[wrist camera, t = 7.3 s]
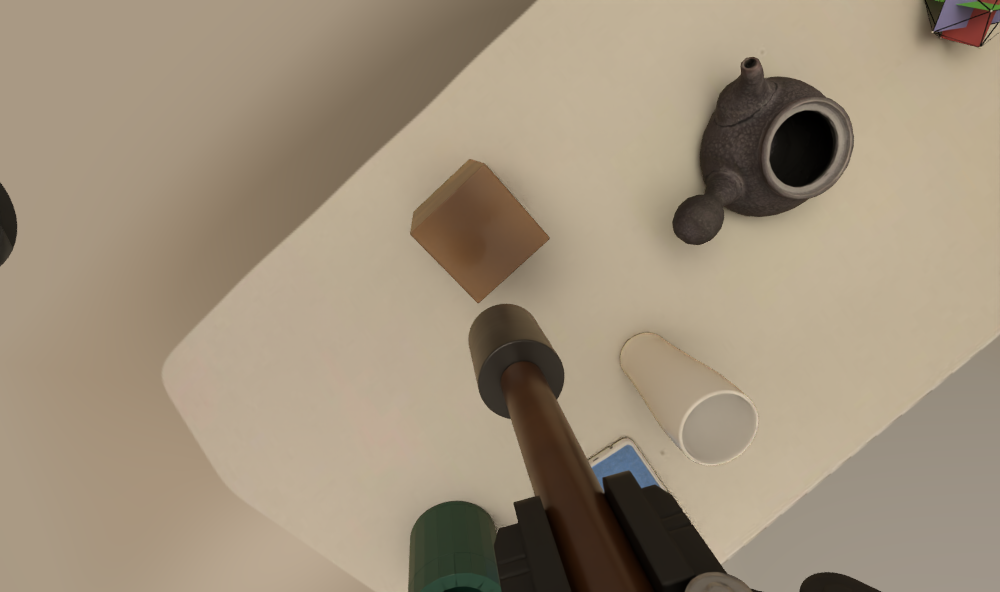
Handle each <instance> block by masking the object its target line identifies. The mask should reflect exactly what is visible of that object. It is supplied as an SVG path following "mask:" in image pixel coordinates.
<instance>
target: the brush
mask: <svg viewBox="0 0 1000 592" xmlns="http://www.w3.org/2000/svg"><path fill="white" fill-rule="evenodd" d="M468 340H469V348H470V352H471V357H472V361H473V366H474V370H475V375H476V380H477V384H478V389H479V393H480V395H481V398H482V400H483V401H484V403H485V404H486V406H487V407H488V408H489V409H490V410H492V411H493V412H494V413H496V414H498V415H500V416H502V417H505V418H508V419H511V421H512V424H513V427H514V430H515V434H516V437H517V440H518V443H519V446H520V449H521V453H522V456H523V459H524V462H525V465H526V469H527V472H528V475H529V478H530V481H531V484H532V488H533V491H534V494H535V496H538V495H540V498H541V501H542V504H543V507H544V510H545V513H546V516H547V519H548V522H549V525H550V528H551V531H552V534H553V537H554V540H555V543H556V546H557V549H558V552H559V555H560V559H561V562H562V565H563V568H564V571H565V574H566V577H567V580H568V583H569V586H570V589H571V592H655V590H654V588H653V587H652V585H651V583H650V581H649V579H648V577H647V575H646V573H645V571H644V569H643V567H642V565H641V563H640V561H639V559H638V557H637V555H636V554H635V552H634V550H633V548H632V546H631V544H630V542H629V540H628V538H627V536H626V534H625V532H624V530H623V528H622V526H621V524H620V523H619V521H618V519H617V517H616V515H615V513H614V511H613V509H612V507H611V505H610V503H609V501H608V499H607V497H606V495H605V493H604V491H603V489H602V487H601V485H600V483H599V481H598V479H597V477H596V475H595V473H594V471H593V470H592V468H591V466H590V464H589V462H588V460H587V458H586V456H585V454H584V452H583V450H582V448H581V446H580V444H579V442H578V441H577V439H576V437H575V435H574V433H573V431H572V429H571V427H570V425H569V423H568V421H567V419H566V417H565V415H564V413H563V411H562V410H561V408H560V406H559V404H558V402H557V398H558V397H559V395H560V393H561V391H562V388H563V384H564V368H563V365H562V362H561V360H560V358H559V357H558V355H557V353H556V352H555V350H554V349H553V347H552V345H551V344H550V342H549V341H548V339H547V338H546V336H545V334H544V333H543V331H542V330H541V328H540V326H539V325H538V323H537V322H536V320H535V319H534V317H533V316H532V315H531V314H530V313H529V312H528V311H527V310H525V309H524V308H522V307H520V306H517V305H512V304H500V305H495V306H492V307H490V308H488V309H486V310H485V311H483V312H482V313H481V314H480V315H479V316H478V317H477V318H476V319H475V321H474V322H473V324H472V326H471V328H470V332H469V338H468Z"/></svg>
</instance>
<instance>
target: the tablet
mask: <svg viewBox="0 0 1000 592" xmlns="http://www.w3.org/2000/svg"><path fill="white" fill-rule="evenodd" d="M588 462H589V464H590V466H591V468H592V470H593V471H594V473H595V475H596V477H597V479H598V481H599V483H600V485H601V487H602V489H603V491H604V488H603V481H602V478H603V477H606V476H610V475H613V474H617V473H620V472H624V471H627V470H629V471H631V473H632V474H633V476H634V477H635V479H636V480H637V482H638V484H639V485H640V487H641V488H644V487H647V486H651V485H654V484H655V485H657V486H659V487H660V488H662V489H663V490H665V491H666V492H668V491H667V490H666V488H665V487H664V486H663V484H662V483H661V481H660V480H659V478H658V477H657V475H656V473H655V472H654V470H653V469H652V467H651V466H650V464H649V463H648V462H647V461H646V459H645V457H644V456H643V454H642V453H641V452H640V451H639V449H638V448H637V446H636V445H635V443H634V442H633V441H632V440H631V439H629V438H624V439H621V440H619V441H618V442H616V443H614V444H613V445H612V446H611V447H608V448H606V449H605V450H603V451H602V452H600V453H598V454H597V455H595V456H594V457H592V458H591V459H589V460H588Z"/></svg>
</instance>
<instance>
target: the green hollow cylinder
mask: <svg viewBox="0 0 1000 592" xmlns="http://www.w3.org/2000/svg"><path fill="white" fill-rule="evenodd" d="M496 536H497V534H496V530H495V526H494V523H493V521H492V519H491V517H490V516H489V515H488V513H487V512H485V511H484V510H483V509H482V508H480V507H478V506H477V505H474V504H472V503H468V502H462V501H453V502H446V503H442V504H439V505H437V506H434V507H432V508H431V509H429V510H427V511H426V512H425V513H424V514H423V515H422V516H421V517H420V518H419V519H418V520H417V521H416V523H415V525H414V527H413V529H412V532H411V537H410V556H409V584H408V592H502V591H501V586H500V579H499V574H498V568H497V563H496V557H495V551H494V543H495V540H496Z"/></svg>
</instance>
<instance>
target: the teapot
mask: <svg viewBox="0 0 1000 592" xmlns="http://www.w3.org/2000/svg"><path fill="white" fill-rule="evenodd" d="M853 146H854V135H853V129H852V124H851V121H850V118H849V116H848V114H847V113H846V111H845V110H844V109H843V108H842V107H841V106H840V105H839V104H838V103H836V102H835V101H833V100H832V99H829V98H826V97H825V96H824V95H823V94H822V93H821V92H820V91H818V90H817V89H815V88H814V87H812V86H810V85H809V84H807V83H804V82H802V81H800V80H796V79H792V78H788V77H769V78H764V73H763V68H762V65H761V63H760V61H759V59H757V58H755V57H749V58H746V59H745V60H744V61H743V62H742V63H741V75H740V76H739V77H738V78H737V79H736V80H735V81H733V82H732V83H730V84H729V85H727V86H726V87H725V89H724V90H723V91H722V92H721V93H720V95H719V98H718V101H717V105H716V110H715V111H714V113H713V114H712V117H711V119H710V121H709V123H708V125H707V128H706V130H705V132H704V135H703V139H702V143H701V151H700V166H701V170H702V175H703V179H704V182H705V184H706V189H705V193H704V195H696V196H693V197H690V198H688V199H686V200H685V201H684V202H683V203H682V204H681V205H680V206H679V207H678V209H677V210H676V212H675V215H674V218H673V222H672V223H673V230H674V233H675V234H676V236H677V237H678V238H680V239H681V240H682V241H684V242H685V243H687V244H693V245H700V244H704V243H706V242H708V241H710V240H711V239H713V238H714V237H715V236H716V235H717V233H718V232H719V230H720V229H721V227H722V224H723V220H724V210H723V206H724V207H726V208H727V209H729V210H731V211H733V212H736V213H738V214H741V215H745V216H756V217H762V216H771V215H776V214H779V213H783V212H786V211H789V210H791V209H793V208H795V207H797V206H799V205H800V204H802V203H803V202H805V201H806V200H808V199H809V198H812V197H816V196H818V195H820V194H822V193H824V192H825V191H826V190H828V189H829V188H830V187H832V186H833V185H834V184H835V183H836V182H837V180H838V179H839V178H840V176H841V175H842V174H843V172H844V171H845V169H846V168H847V166H848V163H849V161H850V157H851V154H852V150H853Z"/></svg>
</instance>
